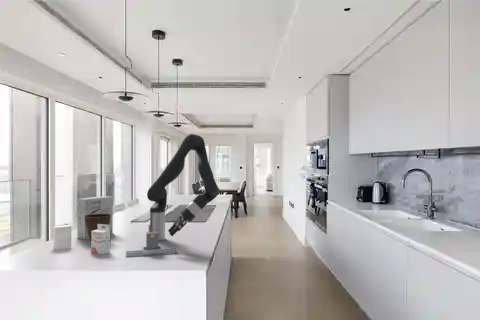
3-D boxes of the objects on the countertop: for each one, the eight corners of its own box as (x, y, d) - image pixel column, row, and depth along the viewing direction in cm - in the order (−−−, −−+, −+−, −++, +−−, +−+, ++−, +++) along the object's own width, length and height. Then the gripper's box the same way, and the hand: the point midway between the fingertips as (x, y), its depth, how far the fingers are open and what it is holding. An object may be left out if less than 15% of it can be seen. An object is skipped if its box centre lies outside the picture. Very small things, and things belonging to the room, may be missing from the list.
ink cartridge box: (90, 253, 186) (90, 225, 186) (97, 250, 191) (97, 223, 191) (103, 254, 183) (103, 226, 184) (110, 252, 188) (110, 224, 188)
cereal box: (84, 239, 220) (85, 199, 220) (77, 237, 224) (77, 198, 224) (112, 233, 239) (112, 196, 239) (105, 232, 243) (105, 196, 243)
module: (157, 250, 189) (157, 231, 189) (158, 252, 184) (158, 233, 184) (146, 251, 187) (146, 232, 187) (146, 253, 182) (146, 234, 182)
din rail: (175, 249, 194) (175, 244, 194) (177, 253, 185) (177, 248, 185) (126, 252, 186) (126, 247, 186) (125, 257, 178) (126, 251, 178)
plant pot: (78, 242, 210) (78, 216, 210) (99, 238, 223) (99, 213, 223) (96, 245, 203) (96, 217, 203) (116, 240, 216) (116, 214, 216)
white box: (68, 244, 205) (68, 224, 205) (73, 247, 198) (73, 226, 198) (51, 247, 198) (51, 226, 199) (56, 250, 192) (56, 228, 192)
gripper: (184, 205, 198) (163, 226, 195) (188, 208, 184) (165, 231, 181) (194, 214, 199) (173, 235, 196) (198, 218, 186) (176, 241, 182)
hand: (169, 233), depth 189 cm, fingers open, 8 cm apart
